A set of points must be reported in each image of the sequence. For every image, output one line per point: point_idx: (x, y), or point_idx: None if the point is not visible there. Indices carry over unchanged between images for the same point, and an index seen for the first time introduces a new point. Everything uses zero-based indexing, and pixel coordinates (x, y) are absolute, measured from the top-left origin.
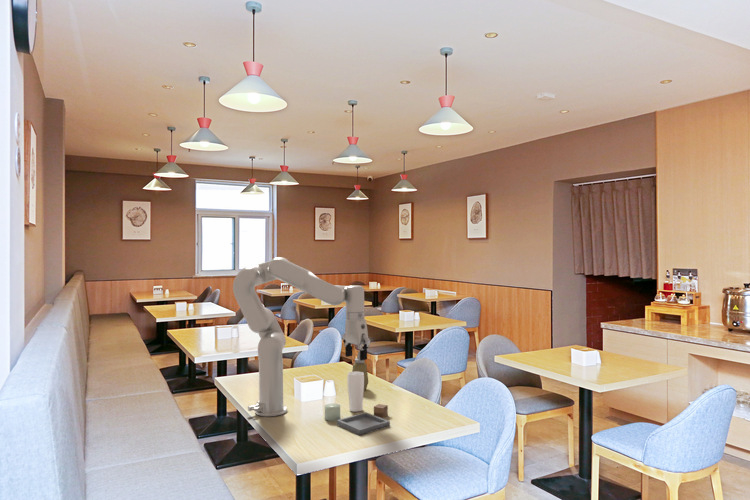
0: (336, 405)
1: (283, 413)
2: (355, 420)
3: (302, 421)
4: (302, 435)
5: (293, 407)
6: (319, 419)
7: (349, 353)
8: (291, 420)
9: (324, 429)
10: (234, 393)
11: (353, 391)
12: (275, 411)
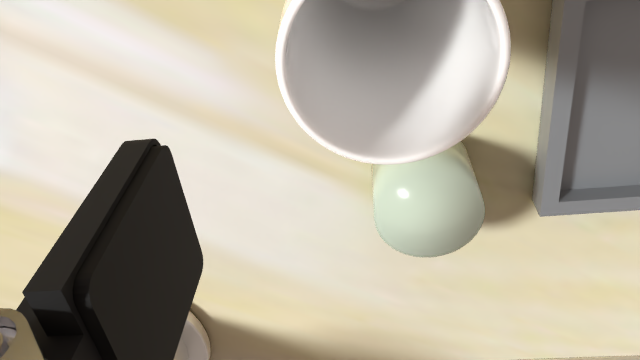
0: (442, 194)
1: (197, 319)
2: (584, 98)
3: (355, 294)
4: (524, 357)
5: None
6: None
7: (171, 242)
8: (308, 321)
9: (537, 269)
10: None
11: (430, 61)
12: (187, 356)
